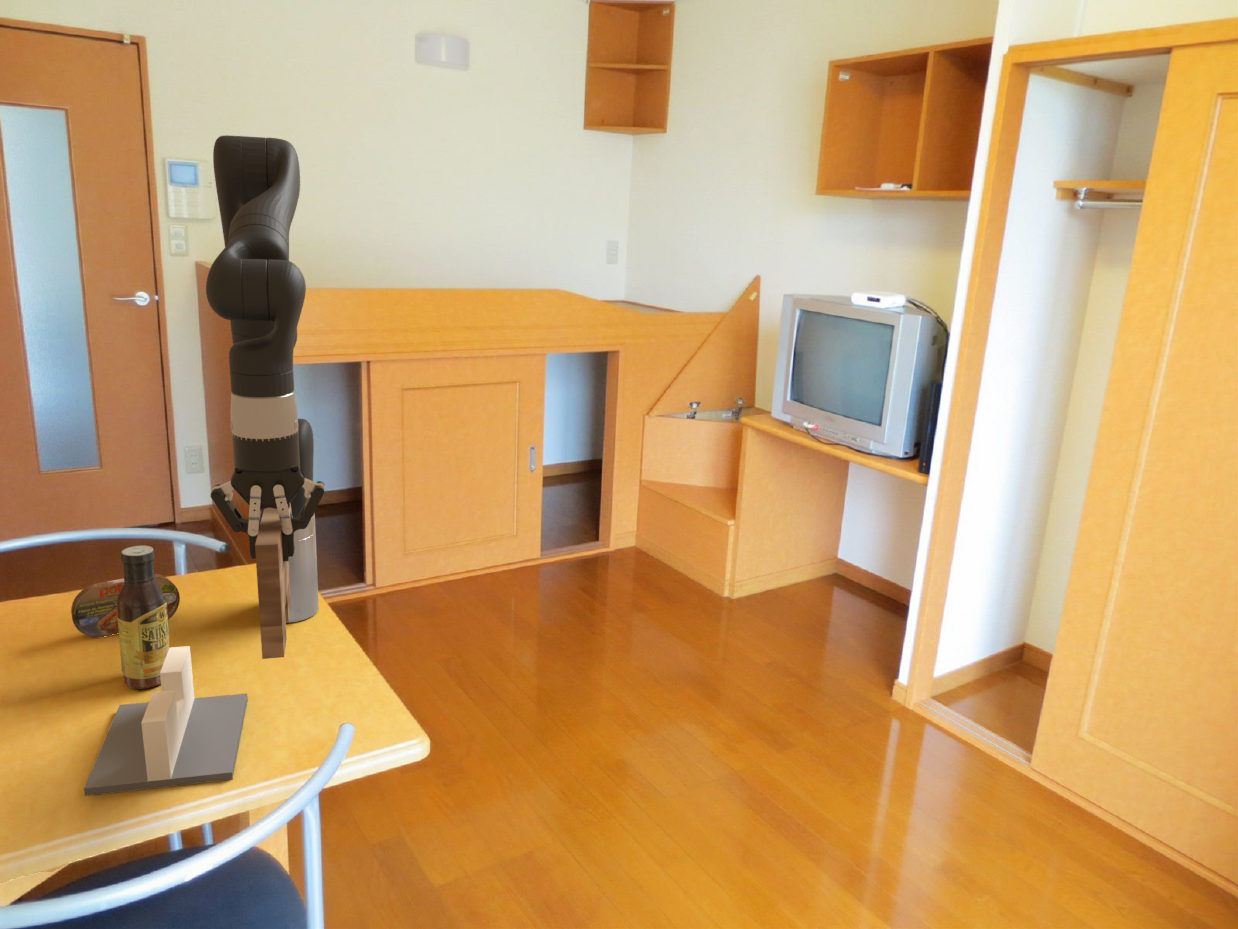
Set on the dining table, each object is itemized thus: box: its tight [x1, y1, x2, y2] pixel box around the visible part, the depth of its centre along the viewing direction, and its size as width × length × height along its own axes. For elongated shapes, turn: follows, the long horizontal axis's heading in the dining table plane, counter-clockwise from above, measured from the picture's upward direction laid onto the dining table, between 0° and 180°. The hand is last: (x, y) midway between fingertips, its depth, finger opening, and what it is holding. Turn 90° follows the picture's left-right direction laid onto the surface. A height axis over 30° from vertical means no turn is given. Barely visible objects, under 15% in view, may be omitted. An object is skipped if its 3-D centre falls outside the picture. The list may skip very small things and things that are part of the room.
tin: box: [70, 573, 181, 639], centre depth 143 cm, size 15×3×8 cm, turn 126°
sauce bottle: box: [117, 545, 171, 690], centre depth 128 cm, size 7×6×20 cm
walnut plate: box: [255, 508, 291, 660], centre depth 116 cm, size 14×2×15 cm, turn 16°
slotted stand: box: [83, 645, 249, 796], centre depth 115 cm, size 18×16×9 cm
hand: (272, 559), depth 115 cm, fingers closed on walnut plate, 2 cm apart
